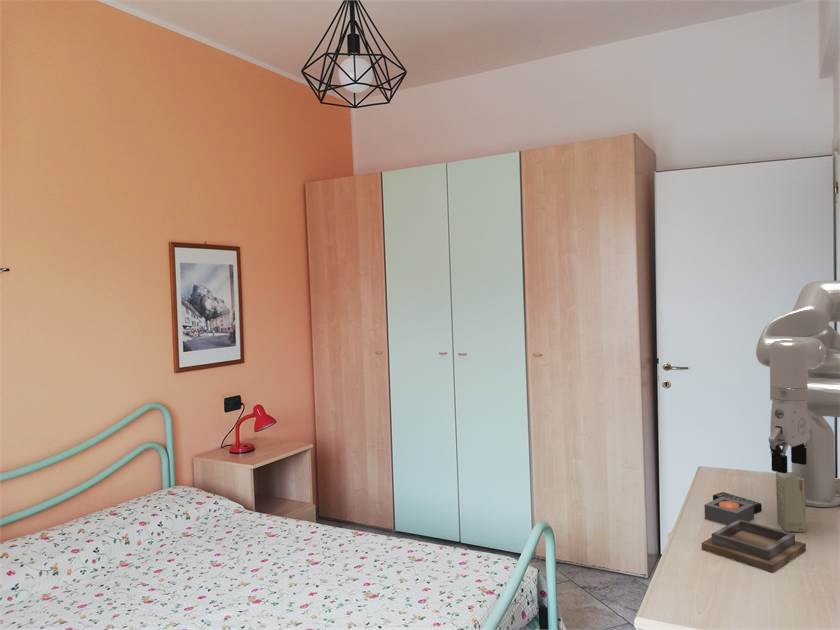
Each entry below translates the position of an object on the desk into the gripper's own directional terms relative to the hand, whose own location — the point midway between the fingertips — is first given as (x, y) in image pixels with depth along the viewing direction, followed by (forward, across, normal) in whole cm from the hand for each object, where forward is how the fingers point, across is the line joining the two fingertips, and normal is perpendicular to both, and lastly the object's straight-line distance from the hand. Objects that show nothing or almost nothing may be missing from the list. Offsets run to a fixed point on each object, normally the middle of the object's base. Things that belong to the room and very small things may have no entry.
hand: (789, 467), depth 149 cm
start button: (+13, -4, +12) cm, 18 cm away
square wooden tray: (+15, -17, 0) cm, 22 cm away
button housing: (+14, -4, +12) cm, 19 cm away
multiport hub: (+15, +5, +15) cm, 21 cm away
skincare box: (+14, +1, 0) cm, 14 cm away
